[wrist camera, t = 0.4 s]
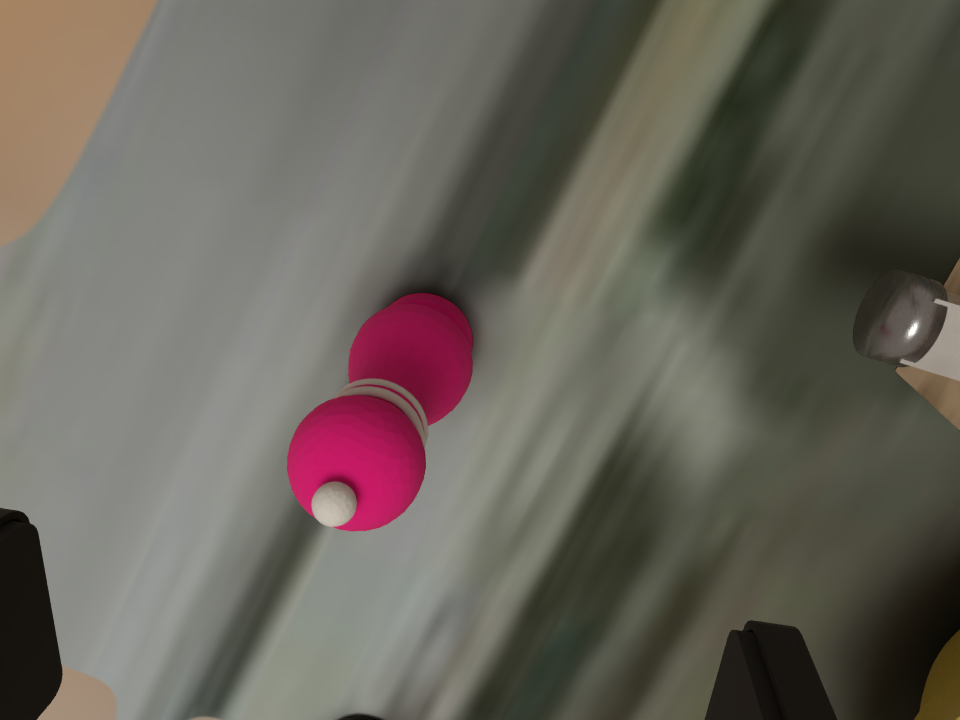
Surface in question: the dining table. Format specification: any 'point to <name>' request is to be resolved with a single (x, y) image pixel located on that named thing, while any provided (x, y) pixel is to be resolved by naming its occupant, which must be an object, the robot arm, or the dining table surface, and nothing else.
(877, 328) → the shaft
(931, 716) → the planter bowl
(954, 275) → the block
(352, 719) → the supplement container
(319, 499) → the pepper mill
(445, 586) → the dining table surface
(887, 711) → the dining table surface
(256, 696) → the dining table surface
